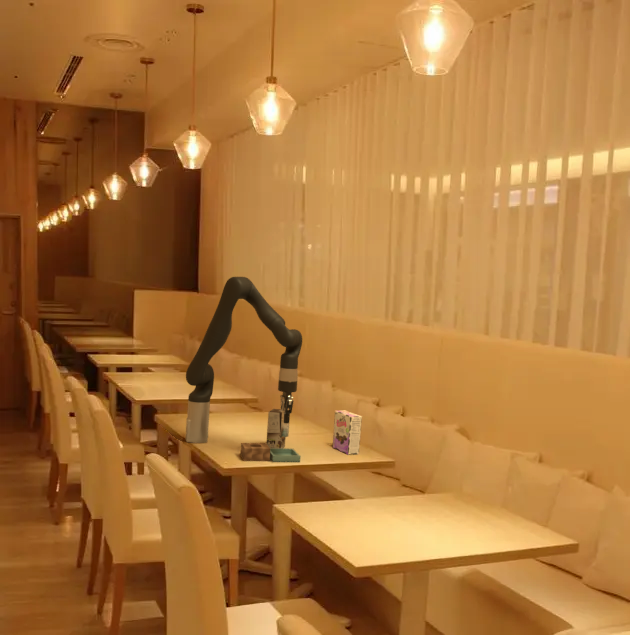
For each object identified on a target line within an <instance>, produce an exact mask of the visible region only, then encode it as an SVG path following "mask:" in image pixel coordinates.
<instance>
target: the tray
mask: <svg viewBox="0 0 630 635" xmlns="http://www.w3.org/2000/svg"><path fill="white" fill-rule="evenodd" d="M270 461H271V462H272V463H301V455H300V454H299V453H298V452H297V451H296V450H295V449H294V448H270Z"/></svg>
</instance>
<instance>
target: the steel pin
mask: <svg viewBox="0 0 630 635" xmlns="http://www.w3.org/2000/svg"><path fill="white" fill-rule="evenodd" d="M290 419H291V418H290ZM290 419H289V423H284V411H282V420H281V436H282V437H286V438H287V437H289V435H290V434H289V432H290Z"/></svg>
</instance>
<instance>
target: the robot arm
mask: <svg viewBox="0 0 630 635" xmlns="http://www.w3.org/2000/svg"><path fill="white" fill-rule="evenodd" d="M239 300H244V301H246V302H247V303H248V304H250V305H251V307H253V309H254V310H255V313H256V315H257V317H258V319H259V320H260V321H261V322H262V324H263V325H264V326H265V327H266V328H267V329H268V330H269V331H270V332H271V333H272V335H273V336H274V338H275V340H276V341H277V342H278V344H279V345H280V346H282V347H283V348H285V350H284V352H283V353H282V354H281V356H280V361H279V362H280V364H279V371H278V372H279V373H278V384H277V386H278V387H277V391H279V392H281V393H282V394H280V409H282V410H281V411H284V423H289V424H290V421H289V419H291V418H290V417H291V414H292V413H293V406H294V399H293V398H294V397H293V395H292V394H293V393H296V392H297V391H298V376H299V374H298V373H299V372H298V368H299V356H300V354H301V349H302V346H303V335H302V333H301V331H300V330H298V329H289V328H288V327H287V326H286V321H285V319H284V318H283V317H282V316H281V315H280V314H279V313H278V312H277V311H276V310H275V308H273V307H272V306H271V305H270V304H269V303H268V302H267V300H266V299H265V298H264V296H263V295H262V294H261V292H260V291H259V290H258V288H257V287H256V286H255V284H254V283H253V282H252V280H251V279H250V278H248V277H246V276H231V277H230V278H228V279H227V280H226V282H225V284H224V286H223V289H222V292H221V295H220V298H219V302H218V304H217V307H216V309H215V311H214V314H213V316H212V318H211V320H210V322H209V325H208V327H207V329H206V331H205V333H204V337H203V338H202V340H201V343H200V345H199V346H198V349H197V351H196V353H195V354H194V356H193V358H192V359H191V362H190V364H189V365H188V367H187V369H186V372H185V379H186V382H187V383H188V385H190V386H192V387H193V386H194V389H193V391H191V392H190V393H189V394H188V399H187V416H186V422H185V423H186V425H185V441H186V442H187V443H193V444H195V443H196V444H203V443H208V441H209V440H208V439H209V425H210V410H211V409H210V408H211V397H212V395H213V392H214V382H215V371H214V368H213V366H212V365H211V364H209V362H210V361H211V359H212V358H213V357H214V356H215V355H216V354H217V353H218V352H219V351H220V350H221V349H222V347H223V346H224V345H225V343H226V342H227V340H228V338H229V336H230V334H231V331H232V327H233V321H232V320H233V312H234V308H235V307H236V305H237V303H238V301H239Z"/></svg>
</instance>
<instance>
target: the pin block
mask: <svg viewBox="0 0 630 635" xmlns="http://www.w3.org/2000/svg"><path fill="white" fill-rule="evenodd" d="M240 457H241V458H242V460H243V461H244V462H270V461H271V459H270V448H269V446H268V445H267V444H266V442H240Z"/></svg>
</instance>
